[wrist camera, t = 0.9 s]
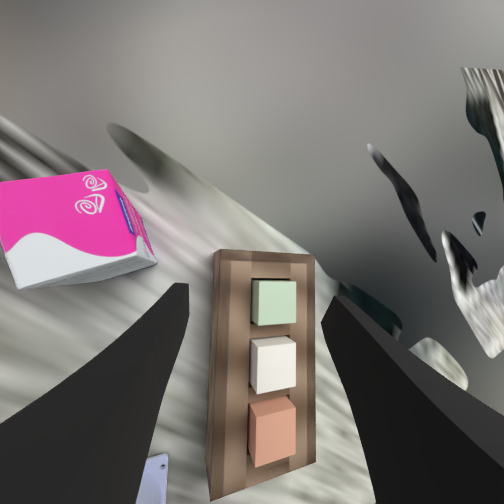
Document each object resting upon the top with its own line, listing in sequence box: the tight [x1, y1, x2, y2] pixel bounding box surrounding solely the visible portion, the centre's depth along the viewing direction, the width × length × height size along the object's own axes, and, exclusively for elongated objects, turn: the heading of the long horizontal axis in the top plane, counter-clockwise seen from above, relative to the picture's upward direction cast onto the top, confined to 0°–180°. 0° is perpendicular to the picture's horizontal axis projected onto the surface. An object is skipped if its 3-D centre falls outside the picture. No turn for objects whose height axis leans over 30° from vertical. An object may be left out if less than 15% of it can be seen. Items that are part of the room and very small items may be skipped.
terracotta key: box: [247, 395, 296, 468], centre depth 21 cm, size 4×4×4 cm
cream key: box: [249, 335, 296, 394], centre depth 21 cm, size 4×4×4 cm
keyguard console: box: [205, 249, 316, 502], centre depth 23 cm, size 24×12×4 cm, turn 178°
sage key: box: [250, 280, 296, 326], centre depth 22 cm, size 4×4×4 cm
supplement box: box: [0, 169, 157, 290], centre depth 16 cm, size 6×6×11 cm
